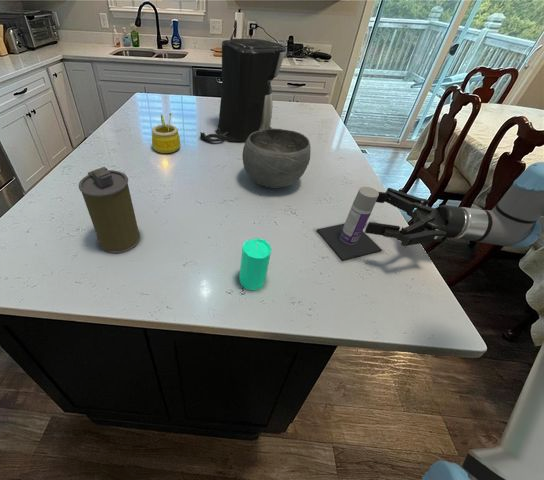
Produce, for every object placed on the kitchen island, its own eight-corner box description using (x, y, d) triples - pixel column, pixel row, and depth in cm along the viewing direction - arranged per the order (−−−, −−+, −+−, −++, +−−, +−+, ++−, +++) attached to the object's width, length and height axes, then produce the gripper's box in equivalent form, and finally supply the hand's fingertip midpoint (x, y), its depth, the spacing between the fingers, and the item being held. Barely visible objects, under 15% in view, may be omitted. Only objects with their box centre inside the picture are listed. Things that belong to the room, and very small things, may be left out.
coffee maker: (281, 130, 133) (296, 41, 110) (240, 155, 113) (248, 54, 90) (240, 117, 142) (246, 33, 119) (196, 138, 123) (193, 43, 100)
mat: (381, 251, 77) (381, 249, 76) (342, 261, 74) (342, 259, 73) (352, 223, 85) (353, 221, 84) (316, 230, 82) (317, 229, 81)
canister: (148, 240, 77) (134, 172, 63) (111, 259, 71) (87, 189, 58) (126, 220, 82) (110, 154, 69) (91, 237, 77) (65, 168, 63)
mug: (174, 157, 111) (171, 125, 102) (147, 152, 113) (143, 120, 105) (187, 143, 120) (185, 113, 111) (163, 139, 122) (159, 109, 114)
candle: (265, 271, 70) (272, 234, 62) (264, 291, 66) (272, 254, 58) (240, 268, 71) (244, 231, 62) (238, 288, 66) (241, 250, 58)
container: (356, 235, 80) (378, 188, 70) (358, 246, 77) (380, 199, 67) (339, 231, 81) (357, 184, 71) (339, 243, 77) (359, 195, 67)
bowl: (313, 180, 102) (325, 138, 91) (281, 207, 89) (291, 162, 79) (263, 160, 111) (268, 120, 101) (228, 182, 99) (230, 139, 89)
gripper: (468, 272, 63) (365, 256, 65) (431, 205, 81) (351, 194, 84) (490, 247, 58) (378, 230, 60) (446, 181, 76) (360, 171, 78)
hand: (362, 209), depth 72 cm, fingers open, 13 cm apart
